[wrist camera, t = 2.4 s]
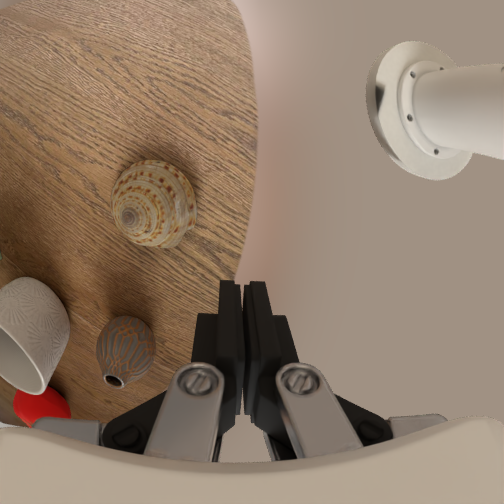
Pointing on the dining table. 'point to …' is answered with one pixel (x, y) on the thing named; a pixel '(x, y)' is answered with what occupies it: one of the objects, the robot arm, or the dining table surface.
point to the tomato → (40, 405)
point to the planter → (31, 334)
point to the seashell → (153, 204)
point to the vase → (125, 350)
